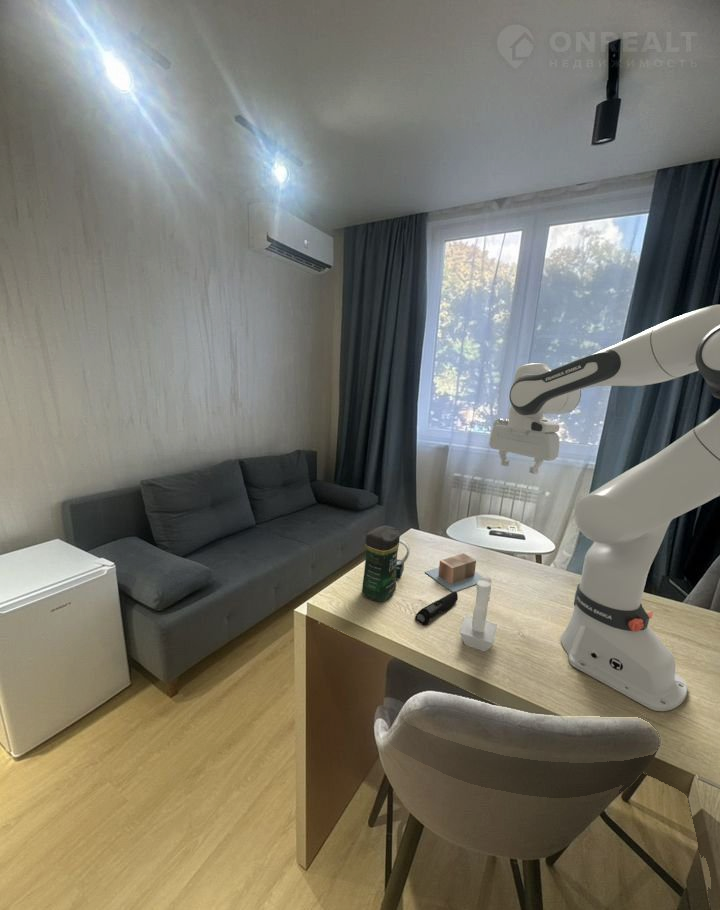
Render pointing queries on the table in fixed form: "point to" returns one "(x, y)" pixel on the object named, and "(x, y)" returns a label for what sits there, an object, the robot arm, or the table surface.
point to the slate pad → (457, 585)
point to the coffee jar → (380, 563)
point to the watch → (401, 562)
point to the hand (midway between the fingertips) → (518, 469)
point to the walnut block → (457, 568)
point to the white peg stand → (479, 620)
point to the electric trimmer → (436, 608)
